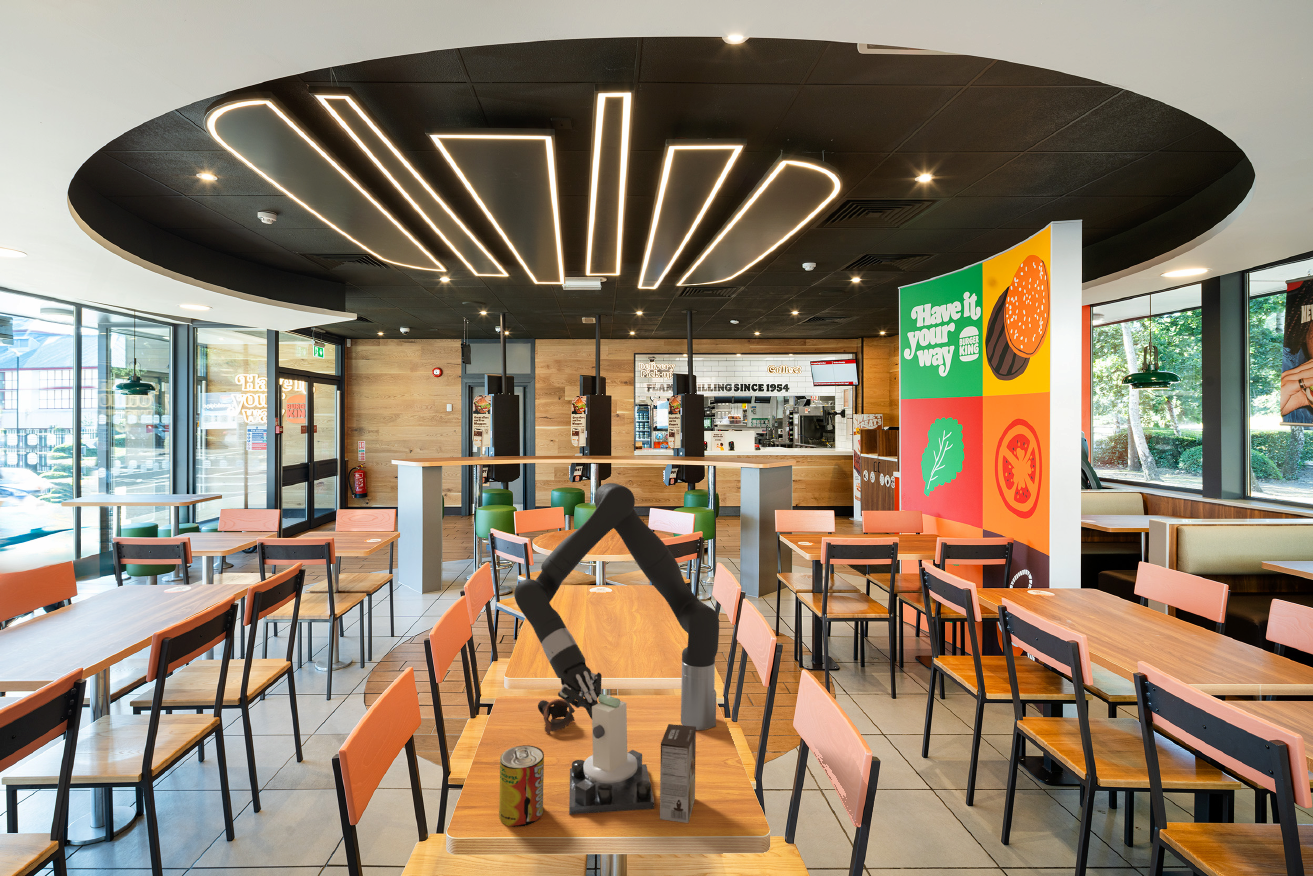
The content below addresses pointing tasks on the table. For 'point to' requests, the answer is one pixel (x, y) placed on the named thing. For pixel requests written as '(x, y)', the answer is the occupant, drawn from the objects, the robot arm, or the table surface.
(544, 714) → the brown hollow shell
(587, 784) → the base
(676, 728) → the coffee box
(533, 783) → the beverage can
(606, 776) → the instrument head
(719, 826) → the table surface
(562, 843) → the table surface
